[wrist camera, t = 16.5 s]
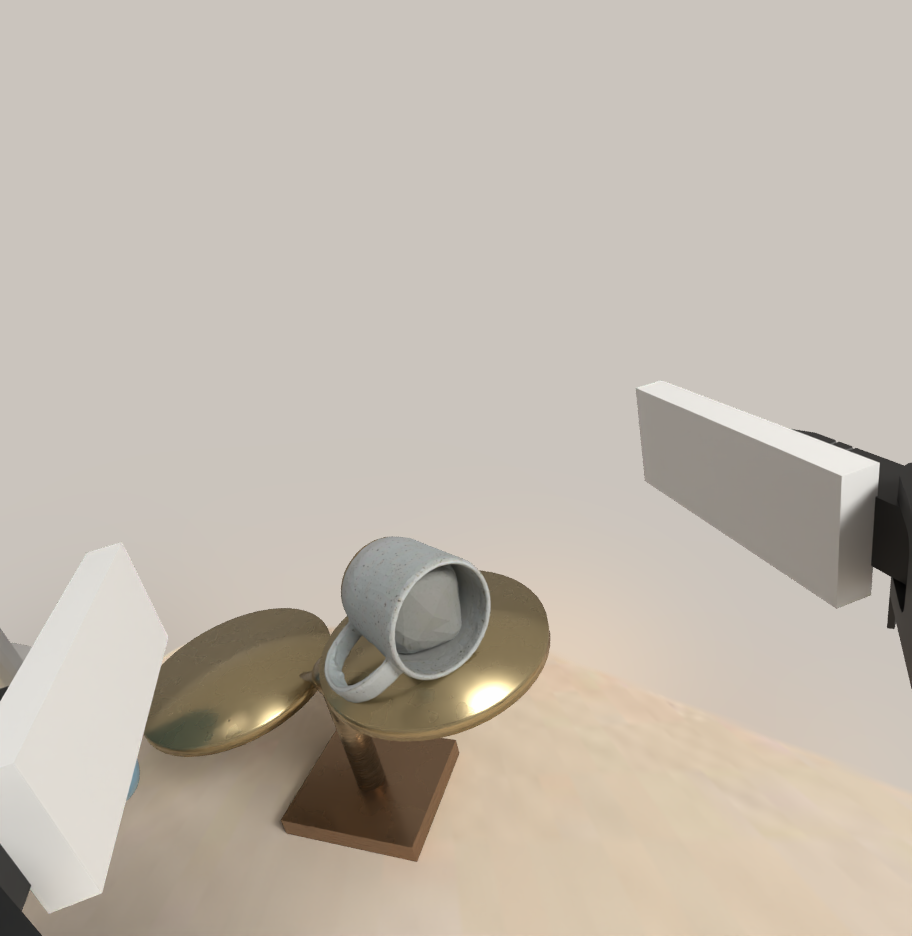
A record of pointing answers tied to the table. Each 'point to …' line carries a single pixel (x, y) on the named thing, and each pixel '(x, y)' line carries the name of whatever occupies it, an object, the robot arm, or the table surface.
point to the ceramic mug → (408, 614)
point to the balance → (348, 713)
